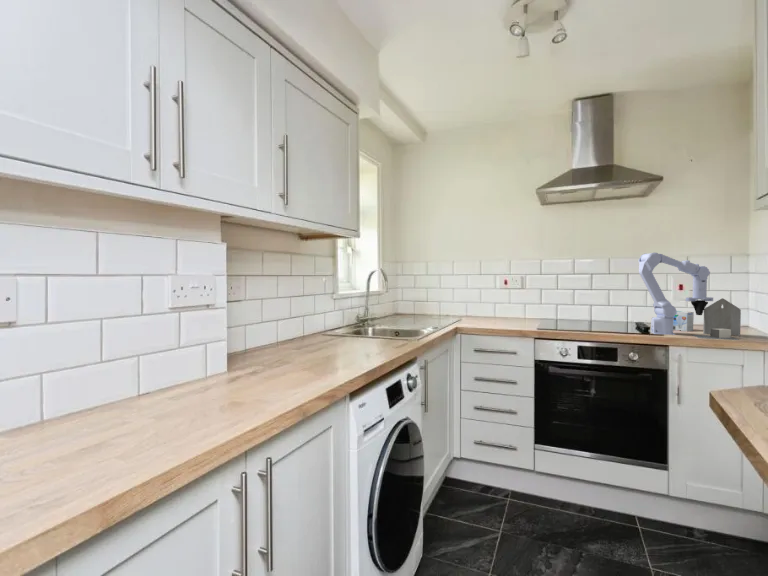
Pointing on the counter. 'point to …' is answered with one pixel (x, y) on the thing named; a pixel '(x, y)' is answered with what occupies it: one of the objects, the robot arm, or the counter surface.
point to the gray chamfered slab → (722, 317)
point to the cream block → (721, 333)
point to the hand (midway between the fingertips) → (699, 315)
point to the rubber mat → (713, 337)
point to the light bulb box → (683, 321)
